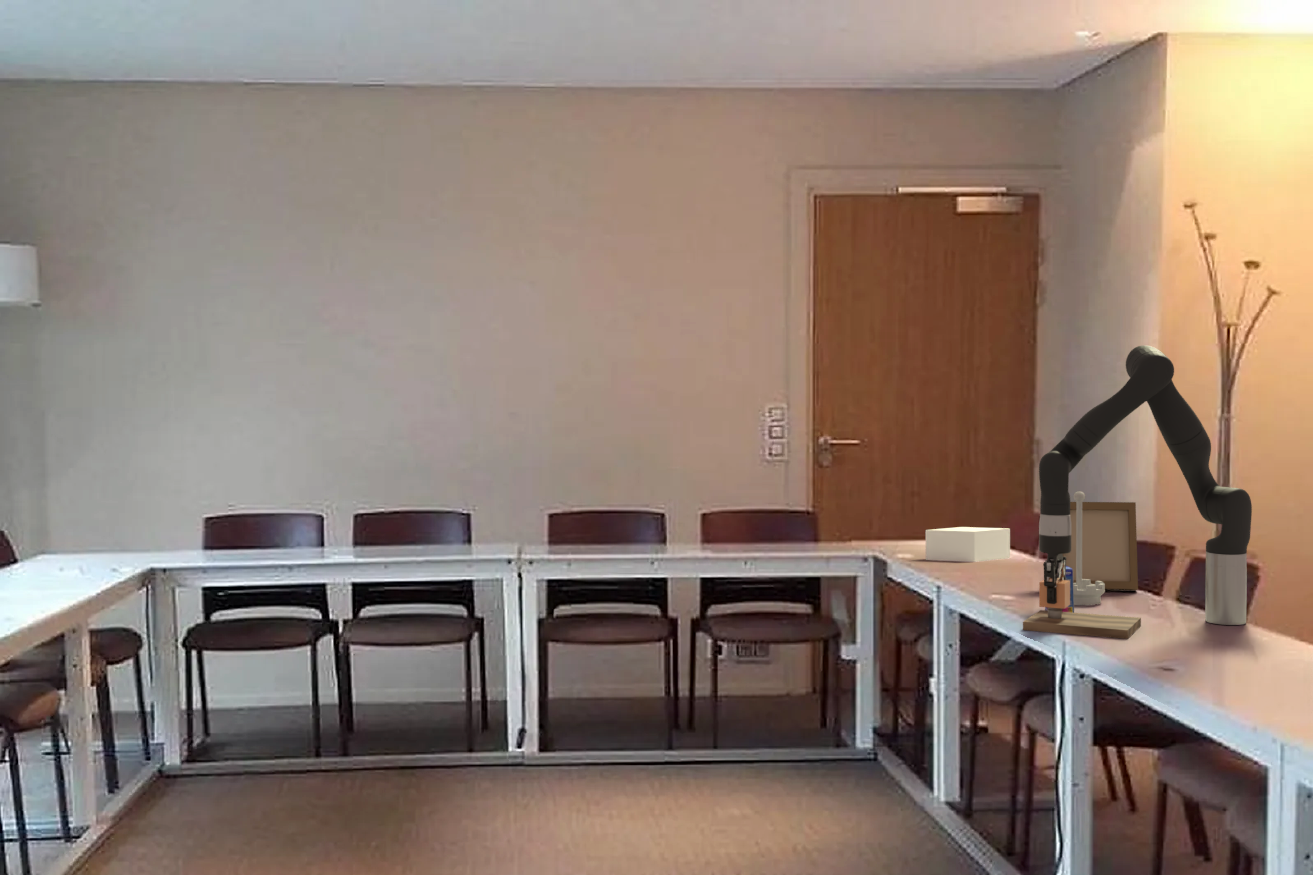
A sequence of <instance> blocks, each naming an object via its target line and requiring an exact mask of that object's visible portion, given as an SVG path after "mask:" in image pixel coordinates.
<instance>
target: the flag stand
mask: <svg viewBox="0 0 1313 875" xmlns="http://www.w3.org/2000/svg"><path fill="white" fill-rule="evenodd" d="M1085 498H1086V495H1085V492H1083V491H1076V492H1074V493H1073V499H1074V502H1076V583H1073V587H1074V606H1096V605H1095V604H1097V605H1100V604H1101V603H1102V600H1101V596H1102V595H1103V594H1104V593H1106V590H1105V584H1104V583H1103V582H1102V581H1095V584H1091V580H1089V579H1082V502H1084V501H1085Z"/></svg>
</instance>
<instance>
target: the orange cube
mask: <svg viewBox="0 0 1313 875" xmlns="http://www.w3.org/2000/svg"><path fill="white" fill-rule="evenodd" d="M1049 581H1050V582H1052V579H1050V580H1049ZM1038 585H1039V587H1038V589H1039V593H1038V594H1039V597H1038V598H1039V599H1038V600H1039V602H1038V603H1039V607H1040V608H1045V607H1049V608H1063V609H1065V608H1066V607H1068V606H1069V605H1070V581H1069V580H1058V583H1057V603H1055V604H1049V603H1047V588H1046V586H1044V579H1043V580H1040V581H1039V584H1038Z"/></svg>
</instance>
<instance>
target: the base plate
mask: <svg viewBox="0 0 1313 875" xmlns="http://www.w3.org/2000/svg"><path fill="white" fill-rule="evenodd" d="M1047 610H1048V611H1046V610H1045V609H1044V610H1043V609H1040V610H1038V611H1037V612H1035V613H1034V614H1032V615H1030V616H1029V617H1028V618H1026V619H1025V620H1023V621H1022V631H1029V632H1031V631H1032V632H1040V633H1041V632H1044V633H1054V634H1055V633H1056V634H1066V635H1067V634H1068V635H1078V636H1089V637H1090V636H1092V637H1103V638H1113V639H1123V640H1124V639H1125V640H1127V639H1129V638H1130V637H1131V636H1132V635H1133V634H1134V633H1135V632H1136V631H1137V630H1138V629H1140V627H1141V626H1142V617H1136V616H1125V615H1124V616H1123V615H1122V616H1121V615H1109V614H1097V613H1085V612H1074V613H1073V612H1062V608H1049V607H1048V608H1047Z"/></svg>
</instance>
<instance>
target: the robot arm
mask: <svg viewBox="0 0 1313 875" xmlns="http://www.w3.org/2000/svg"><path fill="white" fill-rule="evenodd" d="M1125 359H1126V360H1125V370H1126V373H1127V376H1128V377H1129V379H1128V380H1127V381H1126V382H1125V384H1124V385H1123V386H1122V387H1121V388H1120V389H1119V390H1118V391H1117V392H1116V393H1115V394H1113V395H1112V396H1110V397H1109V398H1108V399H1106V400H1104V401H1102V402H1101V403H1099V404H1097V405H1096V406H1094V407H1092V408H1091V409H1090V410H1088V411H1087V412H1086V413H1085V414H1084V415H1082V417H1081V418H1080V419H1078V421H1077V422H1076V423H1074V425H1073V426H1071V428H1070V429H1069V430H1068V431H1067V432H1066V434H1065V436H1064V437H1063V438H1062V439H1061V440H1060V441H1059V442H1058V443H1057V444H1056V445H1055V446H1054V447H1053V448H1051V450H1050V451H1048V452H1047V453H1045V454H1044V455H1043V456H1042V457H1041V459H1040V460H1039V463H1038V464H1039V466H1038V472H1039V473H1038V475H1039V477H1038V478H1039V487H1040V489H1039V490H1040V505H1039V506H1040V510H1039V513H1040V515H1039V523H1038V528H1039V529H1038V550H1039V552H1040V553H1042V554H1047V556H1046V557H1047V558H1046V559H1045V561H1044V562H1043V563H1042V564H1043V565H1042V567H1043V580H1044V586H1046V588H1047V603H1049V604H1055V603H1057V583H1058V580H1065V579H1066V557H1063V554H1066V553H1070V552H1071V517H1070V502H1071V495H1070V492H1069V480H1070V479H1069V477H1070V476H1069V475H1070V473H1071V472H1072V471H1073V469H1075V468H1076V466H1077V465H1078V464H1079V463H1080V462H1081V460H1082V459H1083V458H1084V457H1085V456H1086V455H1087V454H1089V453H1090V452H1091V451H1092V450H1093V449H1094V448H1095V447H1096V446H1097V445H1098V444H1099V443H1100V442H1101V441H1102V440H1103V439H1104V438H1105V437H1106V436H1107V435H1108V434H1109V433H1110V432H1111V431H1112V430H1113V429H1114V428H1115V427H1116V426H1117V425H1119V423H1121V422H1122V421H1123V420H1124V419H1126V418H1127V417H1128V416H1129V415H1131V413H1133V412H1134V411H1135V410H1137V409H1138V408H1140V406H1142V405H1144V403H1147V405H1148V406H1149V408H1150V410H1151V413H1152V416H1153V419H1154V421H1155V423H1156V425H1157V427H1158V429H1159V432H1160V434H1161V436H1162V438H1163V440H1164V442H1165V443H1166V446H1167V447H1168V449H1169V452H1170V453H1171V455H1172V456H1173V458H1174V459H1175V461H1176V464H1177V466H1178V467H1179V469H1180V470H1181V472H1182V475H1183V477H1184V479H1185V480H1186V484H1187V485H1188V488H1189V490H1190V493H1191V495H1192V498H1193V501H1194V503H1195V505H1196V508H1197V510H1198V512H1199V514H1200V515H1201V517H1202V518H1203V519H1204V520H1206V522H1208V523H1210V524H1211V523H1212V524H1215V525H1221V530H1220V533H1219V535H1217V536H1215V537H1212V538H1209V539H1207V541H1206V543H1205V606H1204V607H1205V611H1204V613H1205V622H1207V623H1210V624H1215V625H1223V626H1224V625H1225V626H1226V625H1227V626H1239V625H1241V626H1242V625H1246V624H1247V589H1248V588H1247V585H1248V583H1247V576H1248V574H1247V573H1248V572H1247V571H1248V570H1247V564H1248V562H1247V559H1248V558H1247V555H1248V553H1247V552H1248V551H1247V550H1248V546H1249V542H1250V539H1251V530H1252V514H1253V513H1252V512H1253V506H1252V500H1251V496H1250V495H1249V493H1248V492H1247V491H1246V490H1244V488H1243V489H1242V488H1241V487H1240V488H1238V487H1231V486H1229V487H1228V486H1221V485H1219V484H1218V483H1217V481H1216V480H1215V478H1214V476H1213V474H1212V471H1211V469H1210V458H1211V454H1212V443H1211V438H1210V437H1209V435H1208V433H1207V431H1206V429H1205V427H1204V425H1203V424H1202V421H1201V420H1200V418H1199V417H1198V415H1197V414H1196V413H1195V412H1194V410H1193V408H1192V407H1191V406H1190V404H1189V403H1188V402H1187V400H1186V399H1185V398H1184V397H1183V396H1182V395H1181V393H1180V392H1179V390H1178V389H1177V387H1176V386H1175V383H1174V381H1173V378H1174V375H1175V367H1174V363H1173V362H1172V361H1171V358H1169V357H1168V356H1167V355H1166V354H1165V353H1164V352H1162V351H1161V350H1160V349H1158V348H1156V347H1154V346H1151V345H1146V344H1144V345H1138V346H1136V347H1133V349H1131V350H1130V351H1129V353H1128V354H1127V356H1126V358H1125ZM1061 570H1062V572H1061ZM1050 579H1052V582H1050V581H1049V580H1050Z"/></svg>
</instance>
